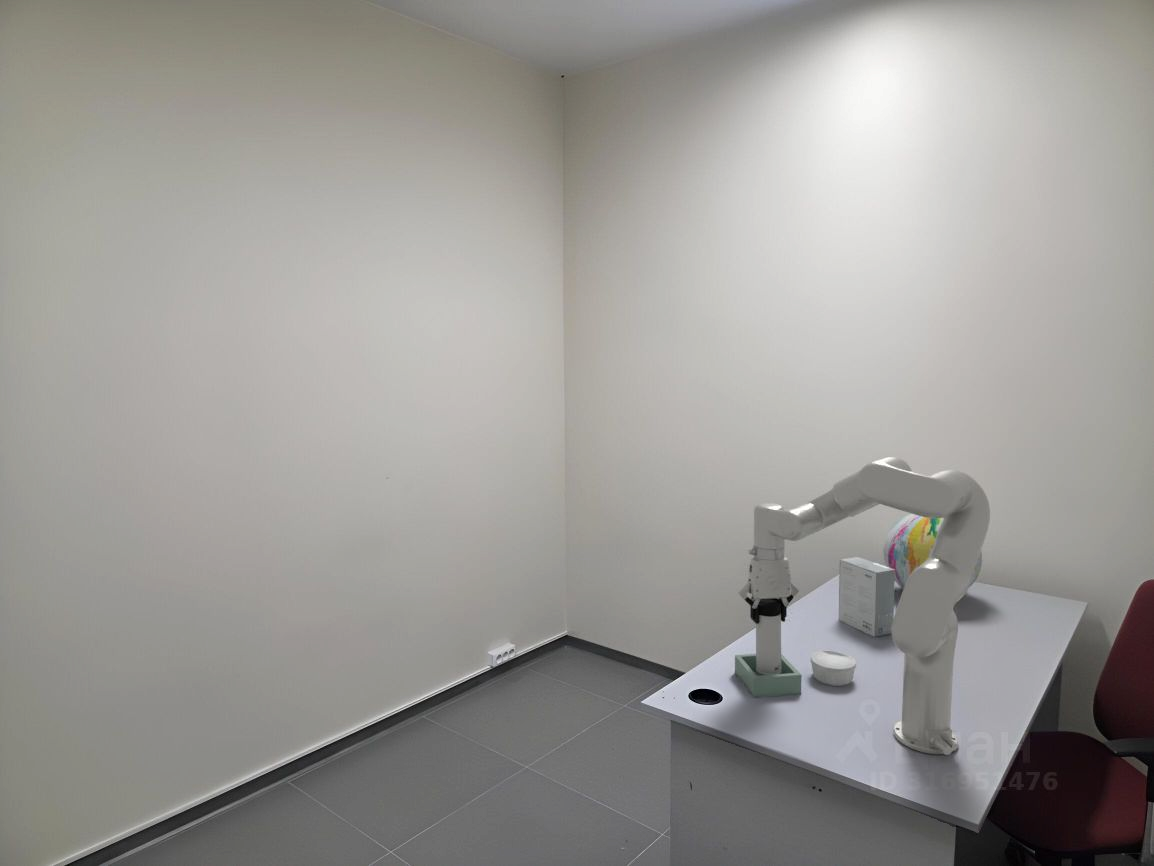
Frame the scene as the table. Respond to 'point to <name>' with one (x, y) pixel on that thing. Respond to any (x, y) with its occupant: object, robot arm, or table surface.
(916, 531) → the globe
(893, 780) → the table surface
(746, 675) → the tray
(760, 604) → the travel mug
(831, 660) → the ramekin
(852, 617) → the hard drive box
